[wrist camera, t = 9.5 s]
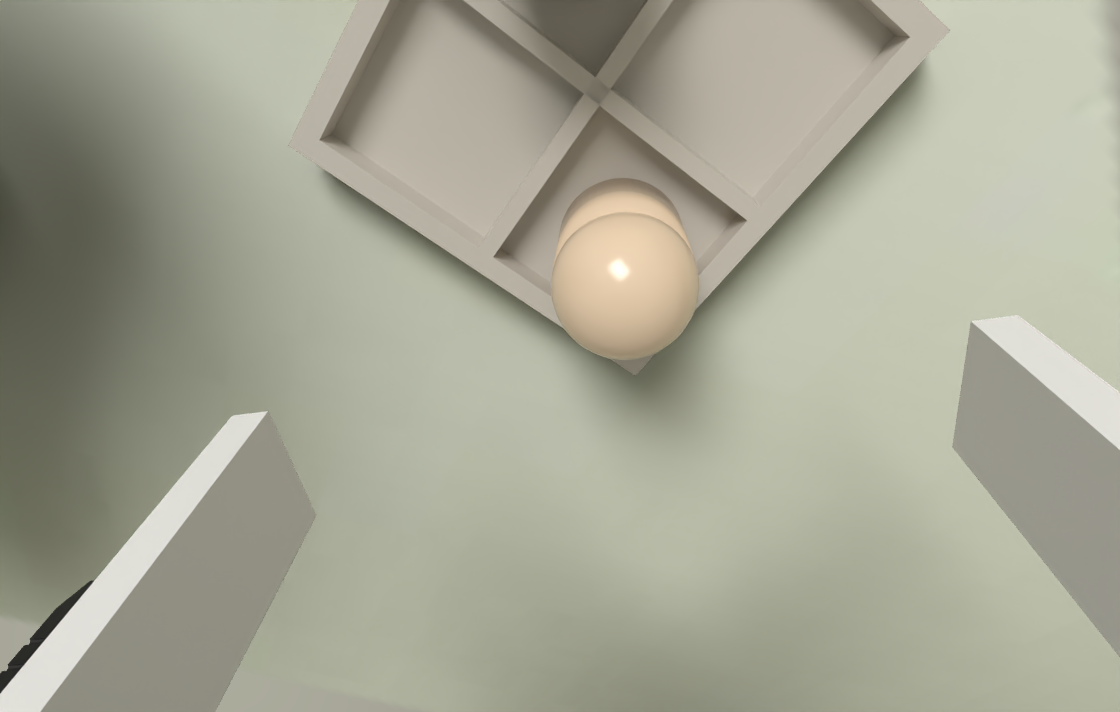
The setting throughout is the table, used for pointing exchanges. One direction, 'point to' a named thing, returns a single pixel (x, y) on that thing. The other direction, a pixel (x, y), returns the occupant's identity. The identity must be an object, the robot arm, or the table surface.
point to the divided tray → (600, 115)
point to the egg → (623, 270)
